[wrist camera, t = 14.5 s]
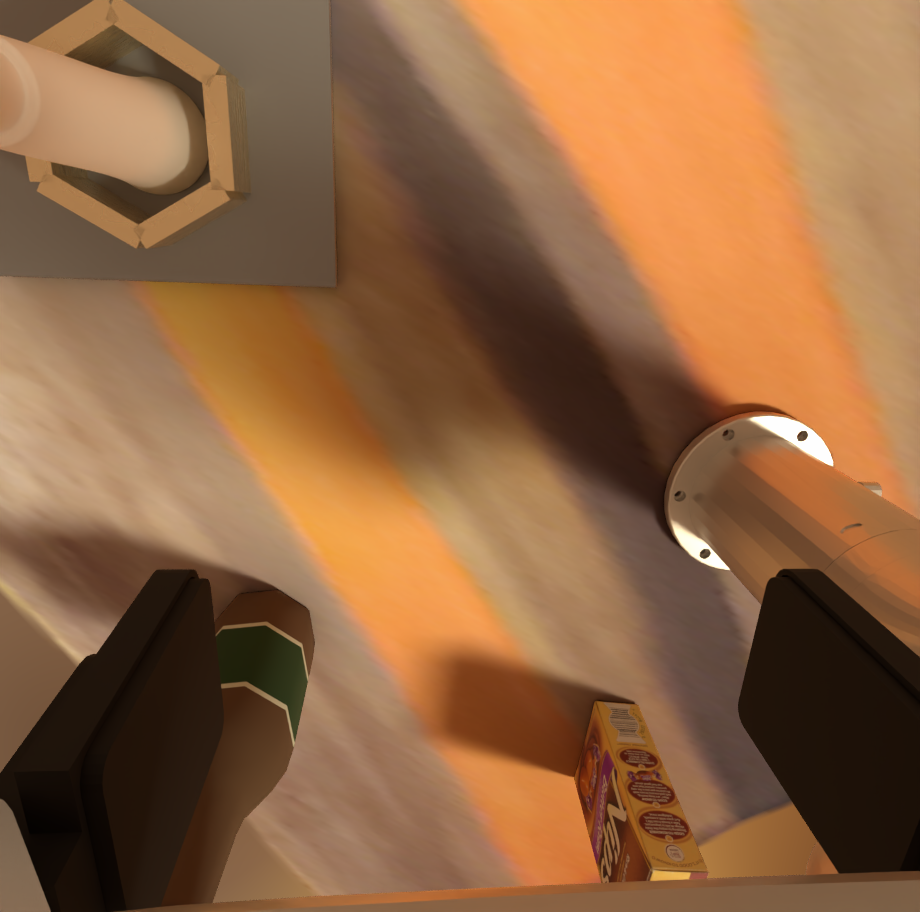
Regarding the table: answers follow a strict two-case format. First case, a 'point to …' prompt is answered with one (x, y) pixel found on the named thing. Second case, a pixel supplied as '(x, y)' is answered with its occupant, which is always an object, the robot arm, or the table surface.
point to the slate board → (270, 157)
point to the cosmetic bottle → (99, 119)
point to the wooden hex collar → (125, 29)
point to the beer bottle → (246, 731)
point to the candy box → (632, 802)
